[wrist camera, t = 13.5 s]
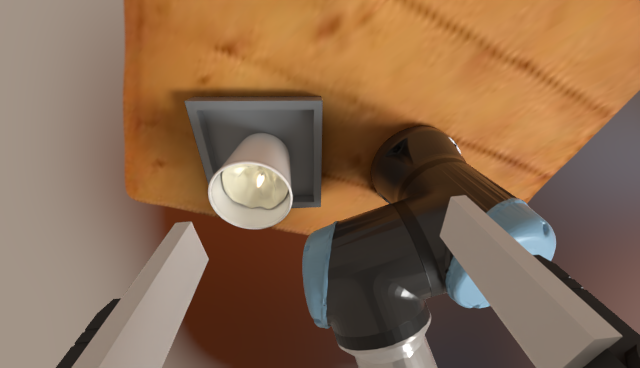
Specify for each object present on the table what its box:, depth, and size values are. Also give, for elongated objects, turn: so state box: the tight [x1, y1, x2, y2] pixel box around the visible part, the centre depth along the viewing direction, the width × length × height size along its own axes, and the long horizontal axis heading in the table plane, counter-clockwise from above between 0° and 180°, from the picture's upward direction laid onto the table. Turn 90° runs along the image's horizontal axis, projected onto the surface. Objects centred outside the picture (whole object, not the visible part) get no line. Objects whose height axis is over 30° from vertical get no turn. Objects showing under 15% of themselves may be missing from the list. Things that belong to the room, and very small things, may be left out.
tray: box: [184, 96, 323, 208], centre depth 37 cm, size 18×18×3 cm
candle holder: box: [208, 133, 293, 229], centre depth 32 cm, size 10×10×12 cm
